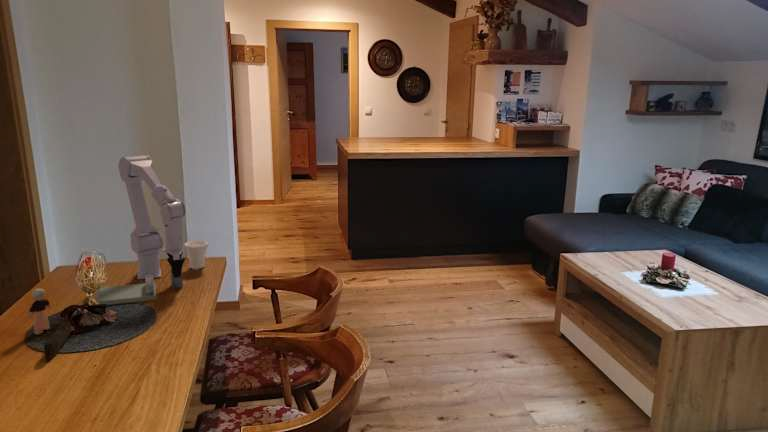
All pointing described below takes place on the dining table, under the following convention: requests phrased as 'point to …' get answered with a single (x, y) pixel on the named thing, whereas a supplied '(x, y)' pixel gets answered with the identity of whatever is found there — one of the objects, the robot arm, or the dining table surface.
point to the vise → (124, 294)
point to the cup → (196, 253)
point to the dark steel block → (176, 281)
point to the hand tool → (57, 340)
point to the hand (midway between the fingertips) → (176, 273)
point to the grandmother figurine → (39, 311)
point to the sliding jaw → (149, 284)
